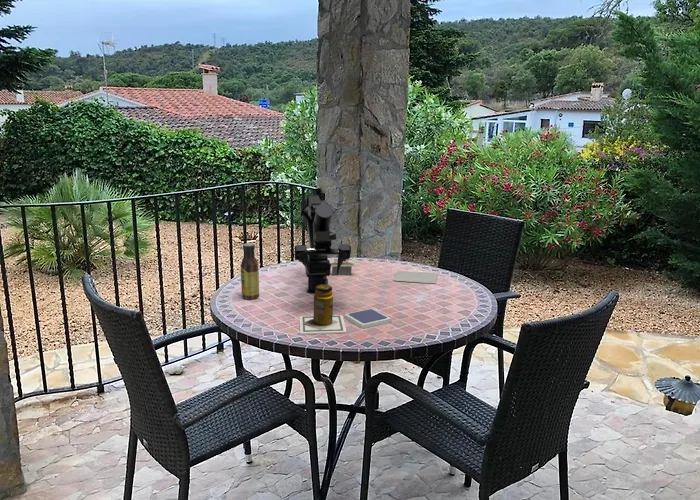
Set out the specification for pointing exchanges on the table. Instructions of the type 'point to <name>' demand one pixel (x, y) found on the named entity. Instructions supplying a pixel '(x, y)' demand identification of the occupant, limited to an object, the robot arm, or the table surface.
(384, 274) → the table surface
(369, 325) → the ink pad
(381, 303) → the table surface
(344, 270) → the platform
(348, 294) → the table surface
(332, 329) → the marked board
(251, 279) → the sauce bottle
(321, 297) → the condiment
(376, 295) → the table surface
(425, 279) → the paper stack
